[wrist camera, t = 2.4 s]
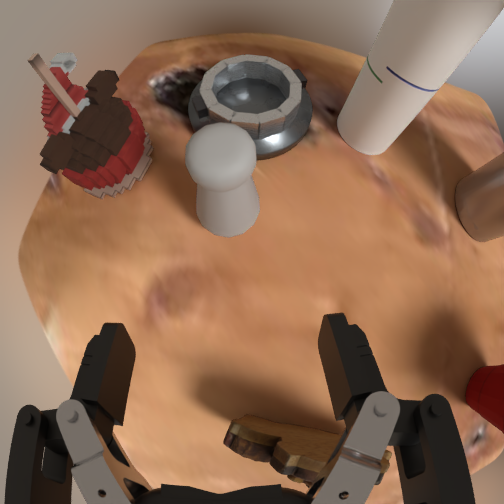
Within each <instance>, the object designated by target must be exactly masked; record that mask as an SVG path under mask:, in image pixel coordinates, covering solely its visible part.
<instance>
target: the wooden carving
mask: <svg viewBox="0 0 504 504" xmlns="http://www.w3.org/2000/svg"><path fill="white" fill-rule="evenodd" d="M340 437H341V435H338V434H334V433H330V432H326V431H322V430H318V429H313V428H308V427H304V426H298V425H292V424H282V423H276V422H272V421H269V420H266V419H263V418H260V417H256V416H253V415H248V414H245V415H244V417H242V418H240V419H234V420H233V421H232V422H231V424H230V426H229V429H228V431H227V433H226V436H225V438H224V441H223V442H224V444H225V445H226V446H227V447H229V448H230V449H231V450H233V451H234V452H235V453H237V454H240V455H241V456H243V457H245V458H250V459H252V460H254V461H261V462H270V465H271V466H272V467H273V468H274V469H275V470H276V471H277V472H279V473H280V474H284V475H288V476H287V477H288V478H289V479H290V480H292V481H294V482H298V483H305V484H306V486H307V487H308V488H309V487H310V486H311V484H312V482H313V481H314V479H315V478H316V476H317V475H318V473H319V472H320V471H321V469H322V468H323V467H324V465H325V463H326V462H327V460H328V458H329V457H330V455H331V453H332V451H333V450H334V448H335V446H336V444H337V442H338V441H339V439H340ZM391 455H392V453H391V452H390V451H388V450H385V452H384V454H383V457H382V459H381V471H380V474H379V476H378V478H377V480H376V482H375V484H374V485H378V484H380V482H381V480H382V478H383V476H384V473H385V472H387V470H388V468H389V466H390V463H389V459H390V458H391Z"/></svg>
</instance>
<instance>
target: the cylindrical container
mask: <svg viewBox="0 0 504 504" xmlns="http://www.w3.org/2000/svg"><path fill="white" fill-rule="evenodd" d="M503 8H504V0H394V1H393V4H392V6H391V8H390V10H389V12H388V14H387V17H386V19H385V21H384V23H383V25H382V27H381V29H380V32H379V33H378V36H377V38H376V40H375V42H374V44H373V46H372V48H371V50H370V52H369V54H368V57H367V59H366V61H365V63H364V65H363V67H362V69H361V71H360V73H359V75H358V77H357V79H356V81H355V84H354V86H353V88H352V90H351V92H350V94H349V96H348V98H347V100H346V102H345V104H344V106H343V108H342V110H341V112H340V114H339V116H338V119H337V127H338V131H339V133H340V135H341V137H342V138H343V139H344V141H345V142H346V143H347V144H348V145H349V146H351V147H352V148H353V149H355V150H357V151H358V152H361V153H364V154H368V155H378V154H381V153H383V152H384V151H386V150H387V148H388V147H389V146H390V145H391V144H392V143H393V142H394V141H395V139H396V138H397V137H398V136H399V135H400V134H401V133H402V132H403V130H404V129H405V128H406V127H407V126H408V125H409V124H410V122H411V121H412V120H413V119H414V118H415V117H416V115H417V114H418V113H419V112H420V111H421V110H422V108H423V107H424V106H425V105H426V104H427V103H428V101H429V100H430V99H431V98H432V97H433V96H434V94H435V93H436V92H437V91H438V90H439V88H440V87H441V86H442V85H443V84H444V83H445V81H446V80H447V79H448V78H449V76H450V75H451V74H452V73H453V72H454V70H455V69H456V68H457V67H458V66H459V64H460V63H461V62H462V61H463V59H464V58H465V57H466V56H467V54H468V53H469V52H470V51H471V49H472V48H473V47H474V46H475V44H476V43H477V42H478V41H479V39H480V38H481V37H482V35H483V34H484V33H485V32H486V30H487V29H488V28H489V26H490V25H491V24H492V23H493V21H494V20H495V19H496V17H497V16H498V15H499V13H500V12H501V11H502V9H503Z"/></svg>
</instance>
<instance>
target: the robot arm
mask: <svg viewBox="0 0 504 504" xmlns="http://www.w3.org/2000/svg"><path fill="white" fill-rule="evenodd" d="M455 201H456V208H457V212H458V215H459V218H460V220H461V222H462V224H463V226H464V228H465V229H466V231H467V232H468V233H469V235H470V236H471V237H472V238H474V239H475V240H477V241H479V242H486V241H489V240H493V239H496V238H499V237H502V236H504V152H503V153H502V154H500V155H499V156H497V157H496V158H494V159H493V160H491V161H490V162H488V163H487V164H485V165H484V166H482V167H480V168H479V169H477V170H476V171H474V172H472V173H471V174H469V175H468V176H466V177H465V178H463V179H461V180H460V182H459V183H458V185H457V187H456V192H455ZM318 349H319V354H320V358H321V362H322V365H323V369H324V373H325V377H326V381H327V385H328V389H329V393H330V397H331V402H332V406H333V410H334V414H335V419H336V421H338V420H343V419H344V421H345V425H346V427H345V429H344V431H343V433H342V435H341V437H340V439H339V441H338V442H337V444H336V446H335V448H334V450H333V451H332V453H331V455H330V457H329V458H328V460H327V462H326V463H325V465H324V467H323V468H322V469H321V471H320V472H319V473H318V475H317V476H316V478H315V479H314V481H313V482H312V484H311V486H310V487H309V489H308V490H307V492H306V493H302V492H300V491H297V490H294V489H289V488H283V487H281V484H278V485H267V486H253V487H248V488H244V489H240V490H236V491H232V492H228V493H224V494H216V493H212V492H208V491H204V490H200V489H197V488H193V487H190V486H178V485H167V484H161V488H157V489H152V488H151V486H150V485H149V484H148V482H147V481H146V479H145V478H144V477H143V476H142V475H141V474H140V473H139V472H138V471H137V470H136V469H135V467H134V466H133V465H132V463H131V461H130V460H129V458H128V456H127V455H126V453H125V452H124V450H123V448H122V446H121V445H120V443H119V441H118V439H117V438H116V436H115V434H114V432H113V426H114V425H120V426H123V421H124V415H125V409H126V403H127V397H128V392H129V387H130V382H131V377H132V372H133V367H134V362H135V357H136V352H135V347H134V344H133V342H132V340H131V338H130V336H129V334H128V332H127V330H126V328H125V326H124V325H123V324H122V323H104V324H103V326H102V329H101V332H100V335H94V337H93V338H92V339H91V340H90V342H89V343H88V344H87V347H86V350H85V353H84V357H83V359H82V362H81V365H80V368H79V371H78V375H77V378H76V381H75V385H74V388H73V392H72V395H71V397H70V399H69V400H67V401H65V402H63V403H62V404H61V405H60V406H59V408H58V409H53V410H45V411H40V410H39V409H37V408H36V407H35V406H33V405H26V406H24V407H23V408H21V410H20V411H19V413H18V415H17V419H16V424H15V428H14V433H13V438H12V443H11V449H10V455H9V462H8V469H7V478H6V489H5V504H71V490H72V475H73V477H74V479H75V481H76V483H77V485H78V487H79V489H80V491H81V493H82V495H83V497H84V499H85V501H86V502H87V504H364V503H365V502H366V500H367V498H368V496H369V494H370V492H371V490H372V488H373V486H374V484H375V482H376V480H377V478H378V476H379V474H380V471H381V459H382V457H383V454H384V452H385V450H386V447H387V446H394V451H395V456H396V461H397V466H398V471H399V477H400V482H401V488H402V494H403V500H404V504H475V498H474V493H473V487H472V482H471V478H470V473H469V469H468V464H467V460H466V456H465V453H464V449H463V445H462V442H461V438H460V435H459V431H458V428H457V425H456V422H455V419H454V416H453V413H452V410H451V407H450V404H449V402H448V401H447V399H446V398H445V397H443V396H442V395H439V394H431V395H428V396H427V397H425V398H424V399H423V400H422V401H416V400H401V399H398V398H396V397H395V396H394V395H392V394H390V393H389V392H388V391H387V389H386V387H385V385H384V382H383V379H382V377H381V374H380V371H379V368H378V366H377V363H376V361H375V358H374V355H373V353H372V350H371V348H370V347H369V343H368V340H367V338H366V335H365V333H364V332H363V331H362V330H361V329H360V328H359V327H358V326H357V325H356V324H354V325H348V322H347V319H346V317H345V315H344V313H335V314H326V315H324V316H323V320H322V324H321V329H320V333H319V337H318ZM44 447H45V452H44ZM43 452H44V458H43ZM42 459H43V466H42ZM73 463H74V466H73Z"/></svg>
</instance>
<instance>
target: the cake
mask: <svg viewBox="0 0 504 504" xmlns="http://www.w3.org/2000/svg"><path fill="white" fill-rule="evenodd" d="M76 61H77V58H76V57H75V55H74V53H58V54H57V55H56V56H55V57H54V58H53V59H52V60H51V63H52V65H51V66H50V69H49V68H48V67H47V65H46V64H45V62H44V61H43V60H42V58H41V57H40V55H39V54H38V53H37V54H33V55H32V56H31V57H30V58H29V60H28V62H29V63H30V64H31V66H32V67H33V68H34V70H35V71H36V72H37V74H38V75H39V76H40V77H41V79H42V80H43V81H44V82H45V84H44V86H43V87H44V90H43V93H44V95H43V96H42V98H43V101H42V104H43V106H42V107H41V108H42V109H43V110H42V111H41V114H42V115H43V116H44V118H43V119H42V120H43V121H44V122H45V123H46V124H45V126H44V127H45V128H46V129H47V130H48V131H49V133H48V135H47V137H48V140H47V142H46V144H45V146H44V148H43V149H42V151H41V153H40V155H41V156H42V157H43V160H42V162H41V163H40V165H41V166H42V167H44V168H45V169H46V170H48V171H50V172H52V173H55V174H57V172H58V170H59V169H62V170H63V172H62V174H63V175H64V176H65V177H67V178H68V179H69V180H71V181H72V182H73V183H74V184H77V185H79V186H81V187H84V191H85V192H86V193H89V194H91V195H93V196H96V197H98V198H100V199H103V198H104V196H105V194H107V195H109V196H111V197H114V198H115V196H116V194H117V192H118V193H120V194H123V192H124V190H125V189H127V190H130V189H131V188H132V186H133V184H134V182H135V180H138V181H141V180H142V178H143V176H144V174H145V173H146V171H147V169H148V167H149V166H150V164H151V162H152V158H151V157H149V155H150V154H151V152H152V150H153V146H152V145H150V144H151V140H150V139H148V138H149V136H150V135H149V133H147V132H144V130H145V129H144V127H143V125H142V124H143V122H142V120H141V118H140V116H139V114H138V113H137V111H136V109H135V108H132V106H131V104H130V103H129V101H124V100H122V99H121V98H116V97H112V95H113V94H114V93H115V91H116V90H117V89H118V88H117V86H116V85H115V84H116V83H117V82H118V81H119V78H118V76H117V74H116V72H115V71H111V70H105V71H98V72H97V73H96V74H95V75H94V77H93V78H92V79H91V80H90V82H89V83H88V84H87V85H86V87H87V88H86V89H84V88H83V87H82V86H77V85H73V84H72V83H71V82H70V80H69V79H68V77H67V76H68V74H69V73H70V72H71V71H72V70H73V69H74V67H75V66H76V64H75V62H76Z"/></svg>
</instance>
